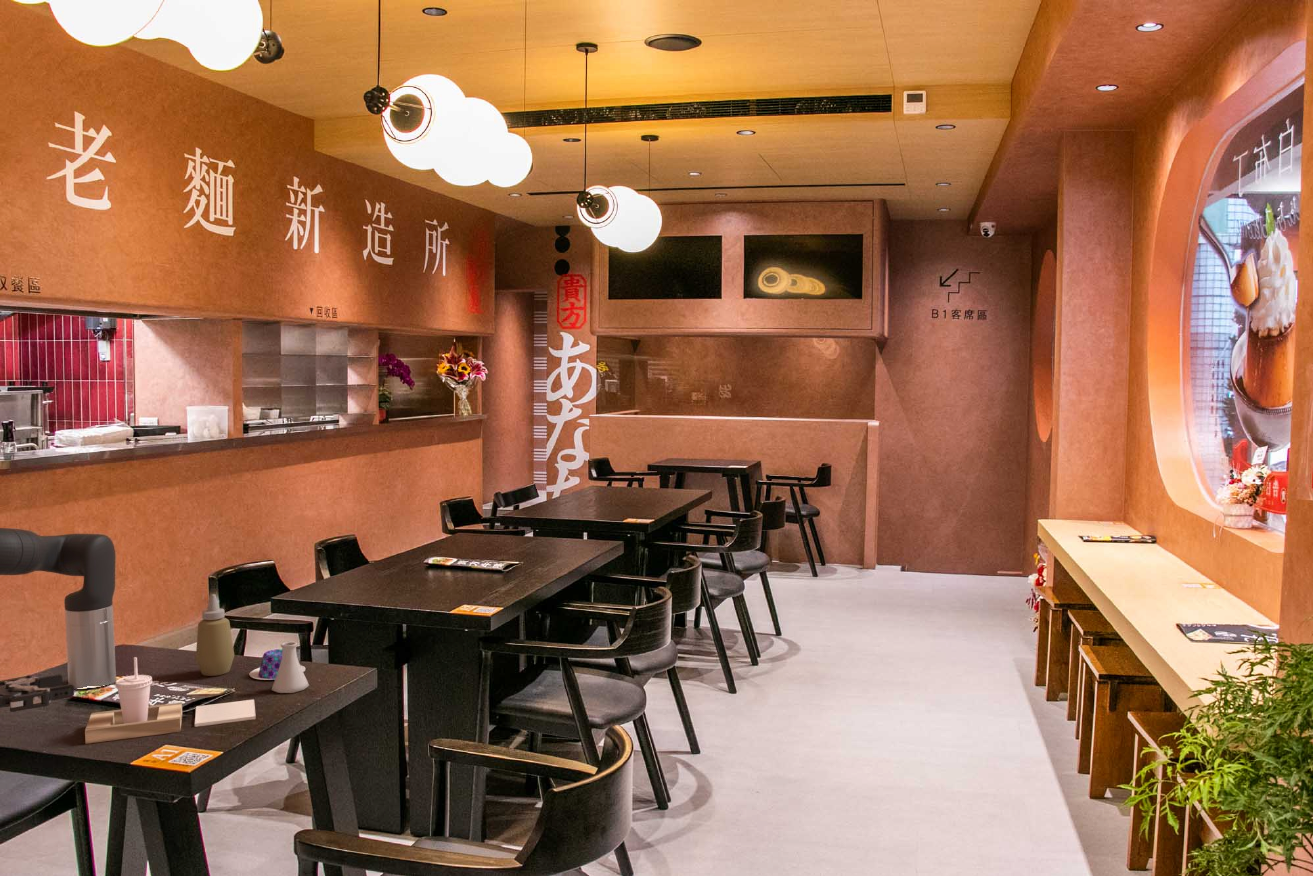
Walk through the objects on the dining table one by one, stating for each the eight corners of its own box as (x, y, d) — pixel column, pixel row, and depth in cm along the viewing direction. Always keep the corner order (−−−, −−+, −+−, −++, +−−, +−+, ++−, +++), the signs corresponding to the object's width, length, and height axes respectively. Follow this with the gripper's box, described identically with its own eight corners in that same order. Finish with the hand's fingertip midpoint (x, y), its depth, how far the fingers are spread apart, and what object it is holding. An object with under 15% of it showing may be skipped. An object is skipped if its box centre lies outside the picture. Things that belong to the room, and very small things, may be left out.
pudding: (288, 684, 229) (287, 660, 228) (238, 681, 231) (237, 658, 230) (315, 668, 240) (314, 646, 240) (267, 665, 243) (267, 643, 242)
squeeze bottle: (225, 678, 232) (222, 599, 231) (189, 678, 232) (186, 599, 231) (240, 667, 240) (237, 590, 239) (206, 667, 240) (202, 590, 239)
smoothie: (139, 735, 197) (135, 663, 196) (109, 733, 198) (106, 661, 197) (161, 724, 203) (158, 653, 202) (132, 722, 204) (129, 652, 203)
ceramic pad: (196, 709, 211) (196, 706, 211) (254, 702, 216) (254, 699, 216) (194, 726, 201) (194, 723, 201) (255, 719, 205) (255, 716, 205)
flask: (265, 692, 222) (263, 646, 222) (289, 682, 229) (287, 637, 228) (292, 696, 220) (290, 649, 219) (315, 686, 226) (313, 641, 226)
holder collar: (92, 725, 202) (91, 713, 202) (182, 714, 208) (181, 702, 208) (85, 743, 193) (84, 730, 192) (180, 731, 199) (179, 718, 199)
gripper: (-30, 691, 175) (77, 672, 186) (-45, 673, 186) (57, 657, 197) (-28, 735, 176) (78, 714, 187) (-43, 715, 186) (58, 696, 197)
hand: (67, 684), depth 192 cm, fingers open, 8 cm apart
